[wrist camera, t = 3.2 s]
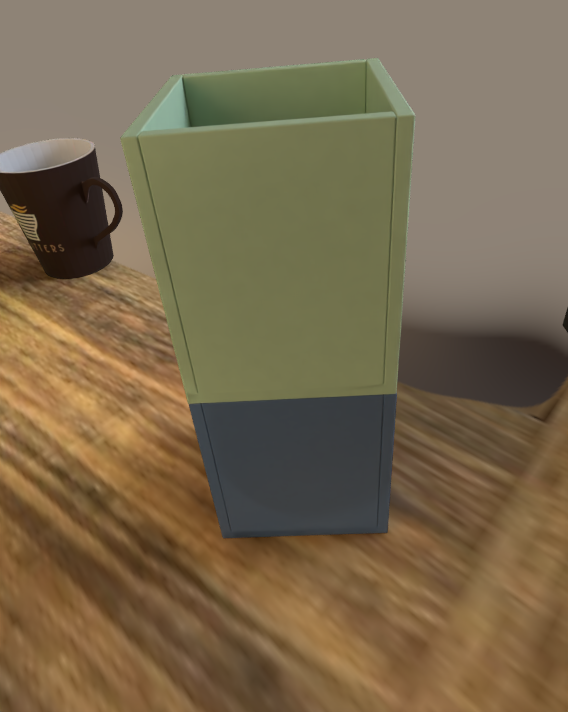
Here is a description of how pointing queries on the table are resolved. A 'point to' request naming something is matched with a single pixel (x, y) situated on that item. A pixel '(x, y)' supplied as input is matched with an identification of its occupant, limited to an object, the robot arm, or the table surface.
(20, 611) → the table surface
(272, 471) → the blue basket
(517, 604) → the table surface
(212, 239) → the green basket
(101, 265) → the coffee mug
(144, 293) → the table surface
